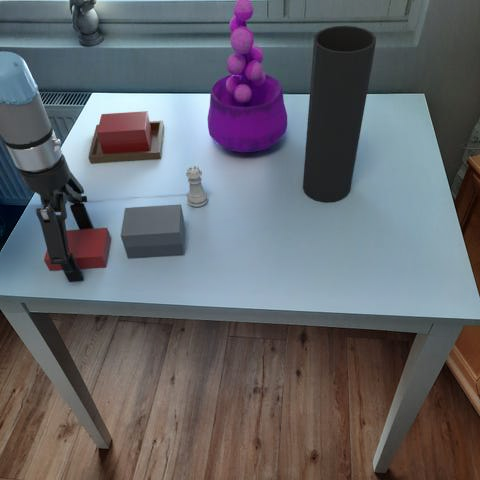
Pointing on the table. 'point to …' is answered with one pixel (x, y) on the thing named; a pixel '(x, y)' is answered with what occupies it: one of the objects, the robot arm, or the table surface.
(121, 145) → the burgundy book
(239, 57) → the decorative plant
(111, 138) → the burgundy book
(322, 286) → the table surface
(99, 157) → the book tray
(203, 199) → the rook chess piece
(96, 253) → the burgundy book
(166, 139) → the table surface
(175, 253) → the gray box
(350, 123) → the vase
